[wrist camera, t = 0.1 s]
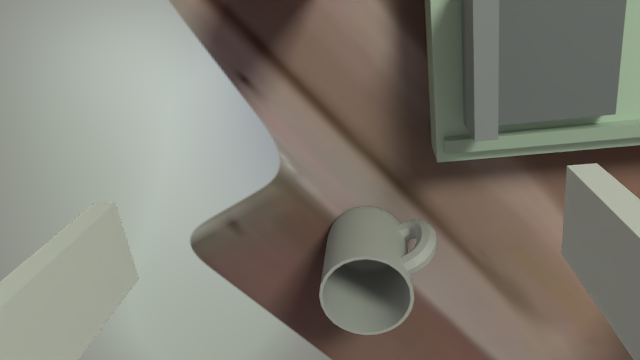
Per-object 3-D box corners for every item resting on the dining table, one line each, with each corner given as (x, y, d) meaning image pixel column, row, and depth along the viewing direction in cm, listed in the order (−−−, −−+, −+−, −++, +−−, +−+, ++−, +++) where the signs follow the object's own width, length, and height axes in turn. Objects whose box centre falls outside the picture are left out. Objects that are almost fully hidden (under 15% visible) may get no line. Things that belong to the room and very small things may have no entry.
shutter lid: (460, -22, 33) (472, -20, 29) (621, -43, 32) (656, -45, 28) (463, 123, 37) (474, 141, 33) (607, 109, 36) (636, 127, 32)
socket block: (421, -63, 36) (429, -68, 32) (756, -112, 33) (818, -125, 29) (431, 145, 42) (439, 167, 38) (716, 119, 39) (761, 139, 35)
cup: (313, 225, 46) (301, 281, 38) (409, 176, 44) (419, 223, 35) (352, 283, 48) (349, 347, 40) (447, 239, 46) (464, 298, 37)
